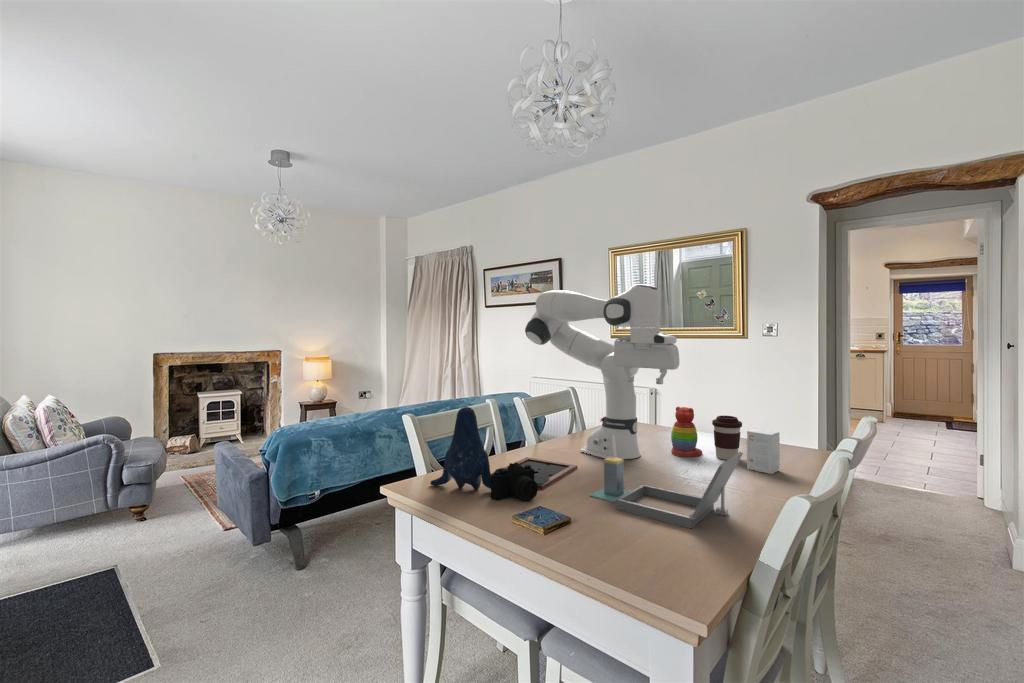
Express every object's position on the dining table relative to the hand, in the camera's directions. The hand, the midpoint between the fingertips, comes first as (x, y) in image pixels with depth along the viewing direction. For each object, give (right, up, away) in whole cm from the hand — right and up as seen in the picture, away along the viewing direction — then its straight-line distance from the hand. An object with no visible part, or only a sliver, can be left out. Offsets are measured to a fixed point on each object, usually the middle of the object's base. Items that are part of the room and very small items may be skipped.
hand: (644, 382), depth 148 cm
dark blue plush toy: (-54, -32, -3) cm, 63 cm away
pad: (-11, -31, -9) cm, 35 cm away
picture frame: (-33, -32, +12) cm, 48 cm away
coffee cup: (+38, -30, +29) cm, 57 cm away
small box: (+43, -31, +14) cm, 55 cm away
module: (-11, -31, -9) cm, 34 cm away
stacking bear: (+25, -30, +35) cm, 53 cm away
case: (+3, -32, -22) cm, 39 cm away
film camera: (-39, -32, -9) cm, 51 cm away
